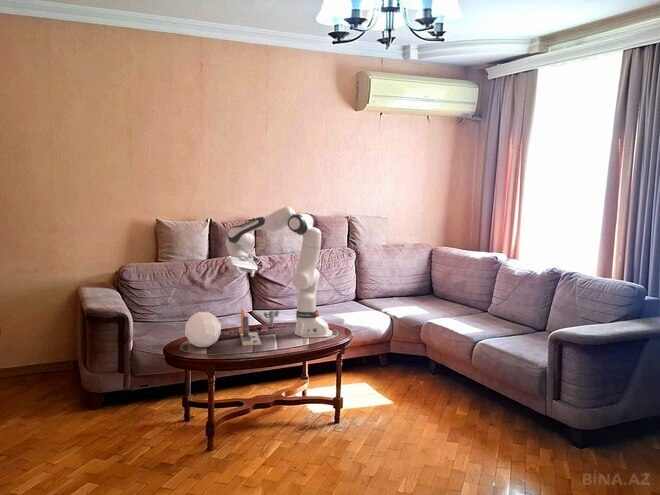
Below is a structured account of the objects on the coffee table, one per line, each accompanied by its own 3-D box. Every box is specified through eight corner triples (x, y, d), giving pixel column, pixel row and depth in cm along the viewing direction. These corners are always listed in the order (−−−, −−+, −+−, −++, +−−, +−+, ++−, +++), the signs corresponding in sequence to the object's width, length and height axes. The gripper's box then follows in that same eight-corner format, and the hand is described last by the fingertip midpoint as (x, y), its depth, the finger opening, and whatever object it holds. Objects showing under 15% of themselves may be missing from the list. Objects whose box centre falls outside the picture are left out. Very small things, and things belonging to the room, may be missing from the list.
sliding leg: (239, 331, 343) (238, 309, 341) (247, 330, 344) (247, 308, 343) (239, 333, 338) (239, 311, 337) (248, 332, 339) (248, 310, 338)
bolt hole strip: (246, 334, 346) (246, 332, 346) (257, 334, 347) (256, 331, 347) (250, 345, 323) (250, 343, 323) (260, 344, 325) (260, 342, 325)
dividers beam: (239, 335, 345) (238, 309, 343) (247, 334, 346) (247, 308, 344) (241, 345, 322) (241, 318, 321) (251, 345, 324) (250, 317, 322)
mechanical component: (263, 327, 362) (263, 312, 361) (277, 325, 368) (277, 309, 367) (265, 328, 359) (265, 312, 358) (279, 326, 365) (279, 310, 364)
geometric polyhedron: (195, 360, 319) (172, 334, 312) (207, 338, 336) (185, 313, 330) (222, 346, 312) (198, 319, 305) (232, 325, 329) (210, 299, 323)
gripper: (228, 251, 346) (235, 268, 338) (254, 257, 360) (262, 274, 353) (222, 258, 348) (229, 276, 341) (249, 264, 363) (256, 280, 355)
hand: (246, 275), depth 347 cm, fingers open, 8 cm apart
